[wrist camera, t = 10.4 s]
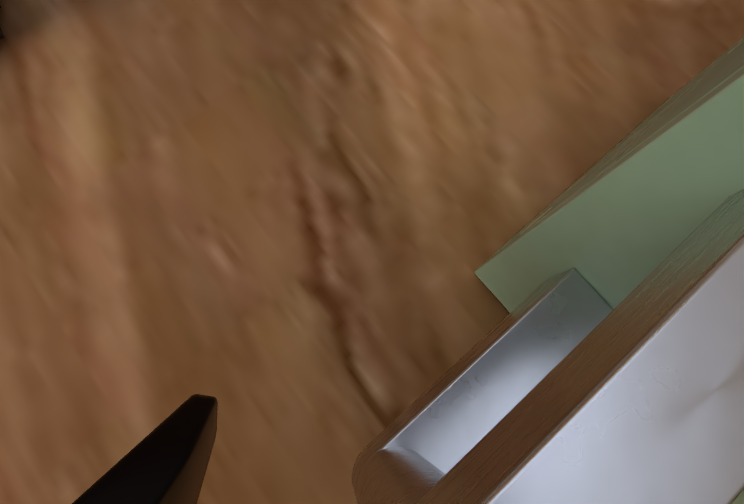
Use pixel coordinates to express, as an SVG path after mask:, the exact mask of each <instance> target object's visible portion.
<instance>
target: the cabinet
mask: <svg viewBox="0 0 744 504" xmlns="http://www.w3.org/2000/svg"><path fill="white" fill-rule="evenodd" d="M743 68H744V37H743V38H742V39H741V40H739V41H738V42H737V43H736V44H734V45H733V46H732V47H731V48H730V49H728V50H727V51H726V52H725V53H724V54H722V55H721V56H720V57H719V58H717V59H716V60H715V61H714V62H713V63H711V64H710V65H709V66H708V67H706V68H705V69H704V70H703V71H702V72H700V73H699V74H698V75H697V76H696V77H694V78H693V79H692V80H691V81H689V82H688V83H687V84H686V85H685V86H683V87H682V88H681V89H680V90H678V91H677V92H676V93H675V94H674V95H672V96H671V97H670V98H669V99H668V100H667V101H666V102H664V103H663V104H662V105H661V106H660V107H659V108H658V109H657V110H655V111H654V112H653V113H652V114H651V115H650V116H649V117H648V118H646V119H645V120H644V121H643V122H642V123H641V124H640V125H639V126H637V127H636V128H635V129H634V130H633V131H632V132H631V133H630V134H628V135H627V136H626V137H625V138H624V139H623V140H622V141H620V142H619V143H618V144H617V145H616V146H615V147H614V148H613V149H611V150H610V151H609V152H608V153H607V154H606V155H605V156H604V157H602V158H601V159H600V160H599V161H598V162H597V163H596V164H595V165H593V166H592V167H591V168H590V169H589V170H588V171H587V172H586V173H584V174H583V175H582V176H581V177H580V178H579V179H578V180H577V181H575V182H574V183H573V184H572V185H571V186H570V187H569V188H568V189H566V190H565V191H564V192H563V193H562V194H561V195H560V196H559V197H557V198H556V199H555V200H554V201H553V202H552V203H551V204H550V205H548V206H547V207H546V208H545V209H544V210H543V211H542V212H541V213H539V214H538V215H537V216H536V217H535V218H534V219H533V220H532V221H530V222H529V223H528V224H527V225H526V226H525V227H524V228H523V229H521V230H520V231H519V232H518V233H517V234H516V235H515V236H513V237H512V238H511V239H510V240H509V241H508V242H507V243H506V244H504V245H503V246H502V247H501V248H500V249H499V250H501V249H502V248H503V247H505V246H506V245H507V244H509V243H510V242H511V241H513V240H514V239H515V238H517V237H518V236H519V235H521V234H522V233H524V232H525V231H526V230H528V229H529V228H530V227H532V226H533V225H534V224H536V223H537V222H538V221H540V220H541V219H542V218H544V217H545V216H546V215H548V214H549V213H550V212H552V211H553V210H554V209H556V208H557V207H558V206H560V205H561V204H562V203H564V202H565V201H566V200H568V199H569V198H570V197H572V196H573V195H574V194H576V193H577V192H578V191H580V190H581V189H582V188H584V187H585V186H586V185H588V184H589V183H590V182H592V181H593V180H594V179H596V178H597V177H598V176H600V175H601V174H602V173H604V172H605V171H606V170H608V169H609V168H610V167H612V166H613V165H614V164H616V163H617V162H618V161H620V160H621V159H622V158H624V157H625V156H626V155H628V154H629V153H630V152H632V151H633V150H634V149H636V148H637V147H638V146H640V145H641V144H642V143H644V142H645V141H646V140H648V139H649V138H650V137H652V136H653V135H654V134H656V133H657V132H658V131H660V130H661V129H662V128H664V127H665V126H666V125H668V124H669V123H670V122H672V121H673V120H674V119H676V118H677V117H678V116H680V115H681V114H682V113H684V112H685V111H686V110H688V109H689V108H690V107H692V106H693V105H694V104H696V103H697V102H698V101H700V100H701V99H702V98H704V97H705V96H706V95H708V94H709V93H710V92H712V91H713V90H714V89H716V88H717V87H718V86H720V85H721V84H722V83H724V82H725V81H726V80H728V79H729V78H730V77H732V76H733V75H734V74H736V73H737V72H739V71H740V70H741V69H743ZM499 250H498V251H499ZM498 251H497V252H498ZM497 252H496V253H497Z"/></svg>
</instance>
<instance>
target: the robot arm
mask: <svg viewBox="0 0 744 504" xmlns="http://www.w3.org/2000/svg"><path fill="white" fill-rule="evenodd" d="M217 410H218V401H217V399H216V398H215V397H212V396H206V395H200V394H195V395H193V396H191V397H190V398H189V399H188V400H186V401H185V402H184V403H183V404H182V405H181V406H180V407H179V408H178V409H177V410H175V411H174V412H173V413H172V414H171V415H170V416H169V417H168V418H167V419H165V420H164V421H163V422H162V423H161V424H160V425H159V426H158V427H157V428H155V429H154V430H153V431H152V432H151V433H150V434H149V435H148V436H147V437H145V438H144V439H143V440H142V441H141V442H140V443H139V444H138V445H137V446H135V447H134V448H133V449H132V450H131V451H130V452H129V453H128V454H127V455H125V456H124V457H123V458H122V459H121V460H120V461H119V462H118V463H117V464H115V465H114V466H113V467H112V468H111V469H110V470H109V471H108V472H107V473H105V474H104V475H103V476H102V477H101V478H100V479H99V480H98V481H97V482H95V483H94V484H93V485H92V486H91V487H90V488H89V489H88V490H87V491H85V492H84V493H83V494H82V495H81V496H80V497H79V498H78V499H77V500H75V501H74V502H73V503H72V504H197V501H198V497H199V494H200V490H201V487H202V483H203V480H204V476H205V473H206V469H207V466H208V462H209V459H210V455H211V452H212V448H213V445H214V441H215V437H216V431H217Z"/></svg>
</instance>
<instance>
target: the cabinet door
mask: <svg viewBox="0 0 744 504" xmlns="http://www.w3.org/2000/svg"><path fill="white" fill-rule="evenodd" d="M474 273H475V274H476V275H477V277H478V278H479V279H480V280H481V281H482V282H483V283H484V284H485V285H486V287H487V288H488V289H489V290H490V291H491V292H492V293H493V294H494V295H495V297H496V298H497V299H498V300H499V301H500V302H501V303H502V304H503V305H504V307H505V308H506V309H507V310H508V311H509V312H510V314H509V315H508V316H507V317H505V318H504V319H503V320H502V321H501V322H500V323H499V324H498V325H497V326H496V327H495V328H494V329H493V330H491V331H490V332H489V333H488V334H487V335H486V336H485V337H484V338H483V339H482V340H481V341H480V342H478V343H477V344H476V345H475V346H474V347H473V348H472V349H471V350H470V351H469V352H468V353H467V354H466V355H464V356H463V357H462V358H461V359H460V360H459V361H458V362H457V363H456V364H455V365H454V366H453V367H452V368H450V369H449V370H448V371H447V372H446V373H445V374H444V375H443V376H442V377H441V378H440V379H439V380H438V381H436V382H435V383H434V384H433V385H432V386H431V387H430V388H429V389H428V390H427V391H426V392H425V393H424V394H422V395H421V396H420V397H419V398H418V399H417V400H416V401H415V402H414V403H413V404H412V405H411V406H410V407H408V408H407V409H406V410H405V411H404V412H403V413H402V414H401V415H400V416H399V417H398V418H397V419H396V420H394V421H393V422H392V423H391V424H390V425H389V426H388V427H387V428H386V429H385V430H384V431H383V432H382V433H380V434H379V435H378V436H377V437H376V438H375V439H374V440H373V441H372V442H371V443H370V444H369V445H368V446H367V447H366V448H364V449H363V451H362V452H361V453H360V454H359V456H358V457H357V459H356V461H355V464H354V467H353V471H352V484H353V489H354V493H355V496H356V500H357V503H358V504H744V68H743V69H741V70H740V71H739V72H737V73H736V74H734V75H733V76H732V77H730V78H729V79H728V80H726V81H725V82H724V83H722V84H721V85H720V86H718V87H717V88H716V89H714V90H713V91H712V92H710V93H709V94H708V95H706V96H705V97H704V98H702V99H701V100H700V101H698V102H697V103H696V104H694V105H693V106H692V107H690V108H689V109H688V110H686V111H685V112H684V113H682V114H681V115H680V116H678V117H677V118H676V119H674V120H673V121H672V122H670V123H669V124H668V125H666V126H665V127H664V128H662V129H661V130H660V131H658V132H657V133H656V134H654V135H653V136H652V137H650V138H649V139H648V140H646V141H645V142H644V143H642V144H641V145H640V146H638V147H637V148H636V149H634V150H633V151H632V152H630V153H629V154H628V155H626V156H625V157H624V158H622V159H621V160H620V161H618V162H617V163H616V164H614V165H613V166H612V167H610V168H609V169H608V170H606V171H605V172H604V173H602V174H601V175H600V176H598V177H597V178H596V179H594V180H593V181H592V182H590V183H589V184H588V185H586V186H585V187H584V188H582V189H581V190H580V191H578V192H577V193H576V194H574V195H573V196H572V197H570V198H569V199H568V200H566V201H565V202H564V203H562V204H561V205H560V206H558V207H557V208H556V209H554V210H553V211H552V212H550V213H549V214H548V215H546V216H545V217H544V218H542V219H541V220H540V221H538V222H537V223H536V224H534V225H533V226H532V227H530V228H529V229H528V230H526V231H525V232H524V233H522V234H521V235H519V236H518V237H517V238H515V239H514V240H513V241H511V242H510V243H509V244H507V245H506V246H505V247H503V248H502V249H501V250H499V251H498V252H497V253H495V254H494V255H493V256H491V257H490V258H489V259H488V260H487V261H486V262H484V263H483V264H482V265H481V266H480V267H479V268H478V269H477V270H475V272H474Z"/></svg>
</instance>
